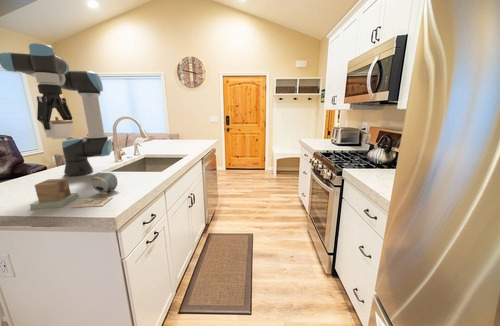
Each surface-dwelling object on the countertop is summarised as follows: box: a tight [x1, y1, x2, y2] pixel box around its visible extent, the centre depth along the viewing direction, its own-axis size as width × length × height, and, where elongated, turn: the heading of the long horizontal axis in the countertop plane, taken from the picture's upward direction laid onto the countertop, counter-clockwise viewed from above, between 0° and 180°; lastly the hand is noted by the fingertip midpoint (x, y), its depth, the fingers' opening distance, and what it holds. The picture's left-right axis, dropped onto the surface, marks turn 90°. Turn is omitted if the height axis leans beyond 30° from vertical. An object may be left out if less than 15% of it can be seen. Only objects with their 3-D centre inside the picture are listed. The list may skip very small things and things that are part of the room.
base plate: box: [29, 192, 79, 210], centre depth 100 cm, size 12×12×2 cm
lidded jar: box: [40, 116, 74, 140], centre depth 97 cm, size 11×11×9 cm
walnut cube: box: [34, 178, 72, 202], centre depth 99 cm, size 8×8×8 cm
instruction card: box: [69, 196, 113, 209], centre depth 99 cm, size 9×13×1 cm
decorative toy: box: [91, 172, 119, 195], centre depth 109 cm, size 12×10×20 cm
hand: (60, 135), depth 98 cm, fingers closed on lidded jar, 11 cm apart
